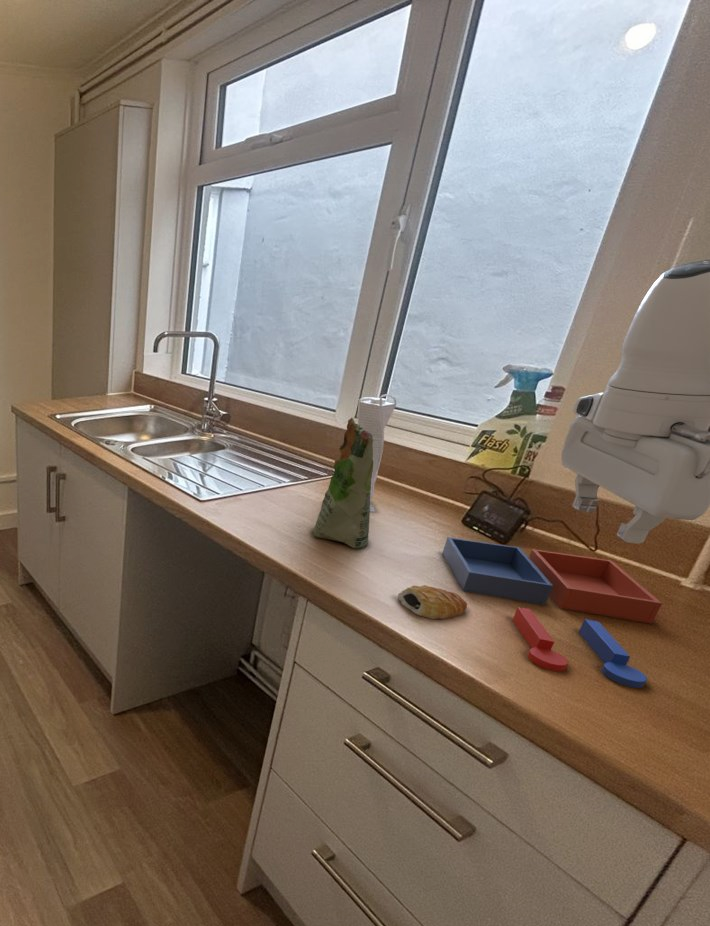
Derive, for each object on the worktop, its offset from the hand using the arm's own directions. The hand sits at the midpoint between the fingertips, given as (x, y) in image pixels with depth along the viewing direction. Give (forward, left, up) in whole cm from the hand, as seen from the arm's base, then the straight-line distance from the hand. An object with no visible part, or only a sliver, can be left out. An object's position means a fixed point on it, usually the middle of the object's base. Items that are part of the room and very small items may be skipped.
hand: (604, 524), depth 65 cm
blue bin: (-1, -27, -22) cm, 35 cm away
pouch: (+23, -35, -22) cm, 47 cm away
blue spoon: (-9, -5, -22) cm, 24 cm away
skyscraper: (+18, -56, -22) cm, 63 cm away
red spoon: (-1, -5, -22) cm, 23 cm away
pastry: (+11, -11, -22) cm, 27 cm away
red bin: (-14, -27, -22) cm, 37 cm away
